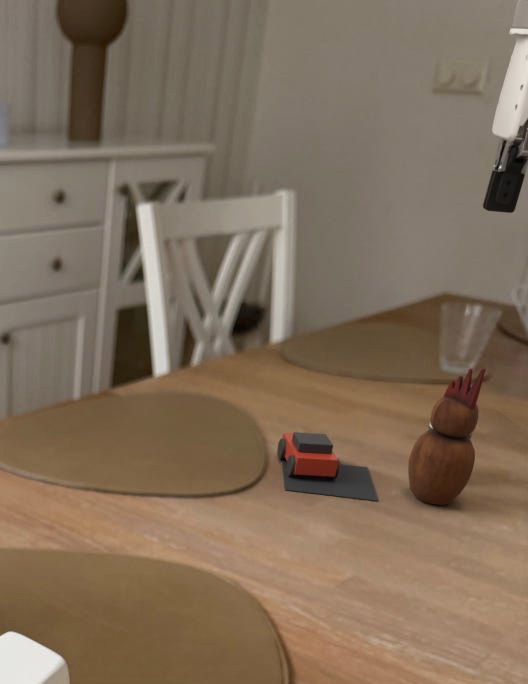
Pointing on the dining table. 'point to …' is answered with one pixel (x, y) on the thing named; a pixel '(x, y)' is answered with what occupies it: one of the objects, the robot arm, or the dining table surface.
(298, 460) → the toy car
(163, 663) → the dining table surface
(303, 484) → the mat
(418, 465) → the wooden figurine
